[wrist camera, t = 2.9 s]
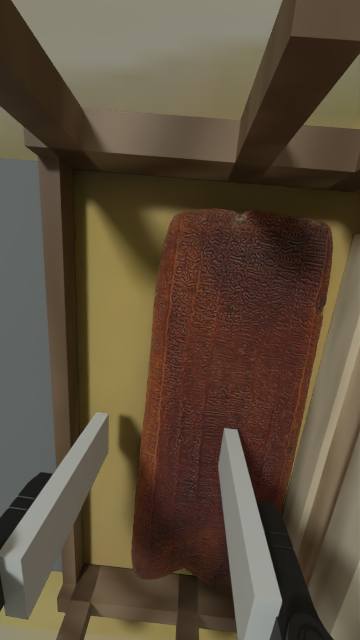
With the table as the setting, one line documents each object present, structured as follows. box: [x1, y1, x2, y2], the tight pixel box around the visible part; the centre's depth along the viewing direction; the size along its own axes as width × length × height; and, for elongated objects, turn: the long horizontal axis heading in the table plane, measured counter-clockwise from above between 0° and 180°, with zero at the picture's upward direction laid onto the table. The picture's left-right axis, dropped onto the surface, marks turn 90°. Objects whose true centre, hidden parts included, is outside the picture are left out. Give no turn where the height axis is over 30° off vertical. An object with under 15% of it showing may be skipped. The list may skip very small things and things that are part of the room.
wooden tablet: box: [132, 208, 333, 591], centre depth 13 cm, size 27×10×2 cm, turn 174°
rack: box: [0, 0, 360, 640], centre depth 11 cm, size 25×32×7 cm
